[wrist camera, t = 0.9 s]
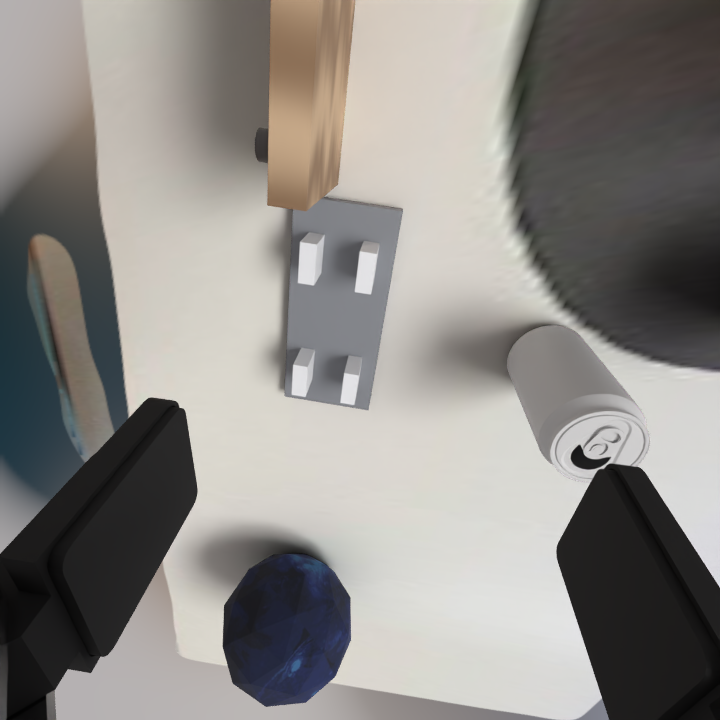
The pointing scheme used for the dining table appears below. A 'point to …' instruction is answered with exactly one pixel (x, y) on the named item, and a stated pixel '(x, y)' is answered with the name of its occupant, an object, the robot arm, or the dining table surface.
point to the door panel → (305, 99)
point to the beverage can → (575, 404)
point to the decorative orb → (286, 629)
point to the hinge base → (338, 299)
